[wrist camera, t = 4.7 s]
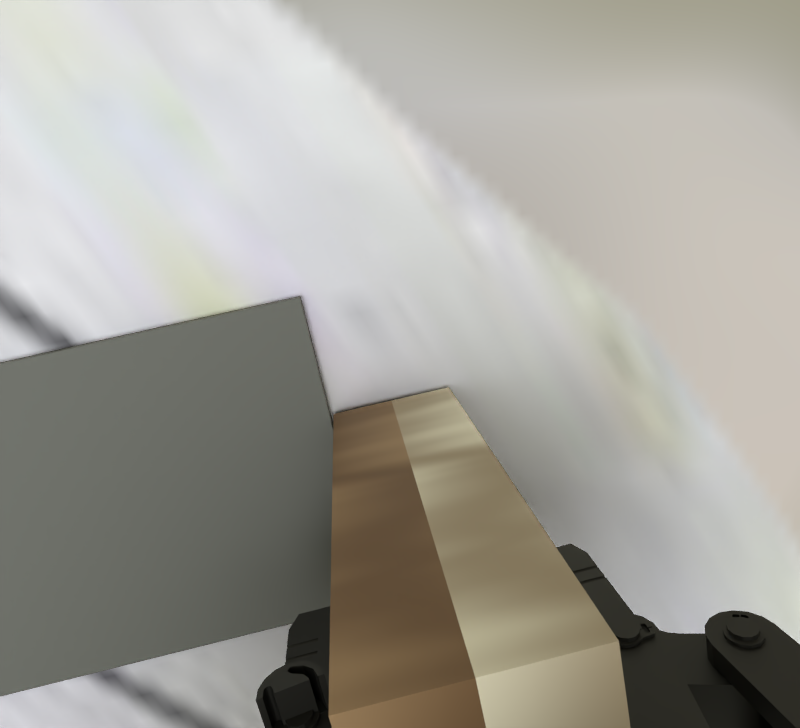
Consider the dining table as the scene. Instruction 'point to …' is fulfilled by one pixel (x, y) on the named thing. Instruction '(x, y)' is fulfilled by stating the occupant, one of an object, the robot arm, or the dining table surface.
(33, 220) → the dining table surface
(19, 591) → the mat
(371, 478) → the slab
